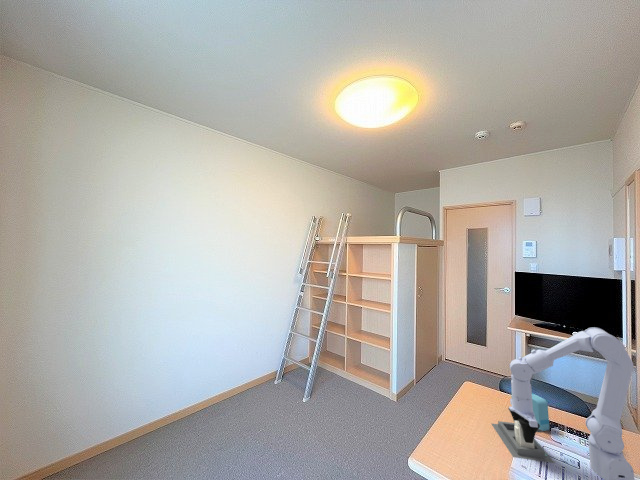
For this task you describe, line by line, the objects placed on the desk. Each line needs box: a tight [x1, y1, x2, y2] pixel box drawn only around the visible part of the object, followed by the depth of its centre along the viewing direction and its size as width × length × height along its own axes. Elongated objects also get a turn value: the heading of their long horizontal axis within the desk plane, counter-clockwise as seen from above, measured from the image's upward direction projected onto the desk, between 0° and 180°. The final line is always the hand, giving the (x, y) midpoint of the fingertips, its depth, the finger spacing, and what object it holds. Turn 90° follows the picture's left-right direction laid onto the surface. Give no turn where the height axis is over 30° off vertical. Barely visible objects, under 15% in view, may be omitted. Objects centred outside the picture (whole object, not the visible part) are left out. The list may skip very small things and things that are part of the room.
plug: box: [513, 420, 543, 449], centre depth 92 cm, size 4×8×8 cm, turn 76°
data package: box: [510, 389, 550, 432], centre depth 108 cm, size 12×4×12 cm, turn 11°
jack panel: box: [491, 421, 556, 464], centre depth 96 cm, size 19×12×3 cm, turn 166°
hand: (524, 436), depth 93 cm, fingers open, 5 cm apart
